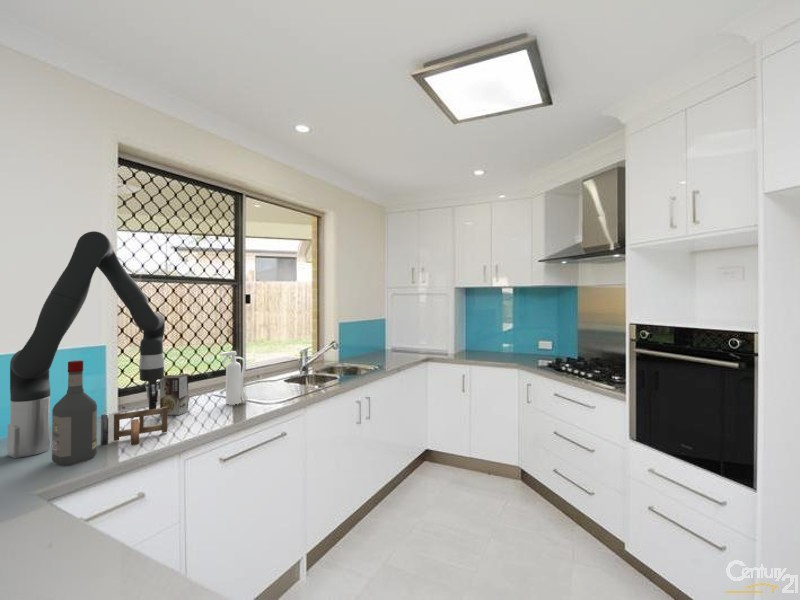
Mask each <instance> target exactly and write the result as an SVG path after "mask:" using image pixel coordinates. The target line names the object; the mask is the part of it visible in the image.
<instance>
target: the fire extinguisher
mask: <svg viewBox="0 0 800 600" xmlns="http://www.w3.org/2000/svg"><path fill="white" fill-rule="evenodd" d="M237 355H238V354H237V351H236V350H233V351H232V350H231V351H225V352H221V353H219V356H226V357H224V359H223V360H222V362H221V365H223V366H225V363H226V361H227V360H228V359H229V358H230V357H231V360H230V362H228V363H227V364H226V366H225V405H226V404H229V405H228V406H236V405H235V404H237V405H239V403H240V404H241V403H242V402H245V401H248V400H249V399H250V397H249V395H248V394H247V391H245V389H244V376H245V367H246V362H245V361H246V360H245V358H244V357H242V356H237ZM238 359H239V360H241V361H242V365H241V363H240V362H238V361H237V360H238ZM241 400H242V401H241Z"/></svg>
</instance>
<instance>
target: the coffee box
mask: <svg viewBox="0 0 800 600" xmlns="http://www.w3.org/2000/svg"><path fill="white" fill-rule="evenodd" d="M159 405H160V406H159V408H162V407H168V412H167V416H180V414H181V415H183V414H185V412H186V413H187V411H188V412H189V375H188V374H168V375H164V378H163V379H160V380H159ZM182 413H183V414H182ZM159 415H161V416H162V414H159Z"/></svg>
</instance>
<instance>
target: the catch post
mask: <svg viewBox="0 0 800 600" xmlns="http://www.w3.org/2000/svg"><path fill="white" fill-rule="evenodd" d="M130 429H131V435H130V445H131V446H137V445H139V444H140V434H139V418H135V419H132V420H130Z"/></svg>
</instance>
